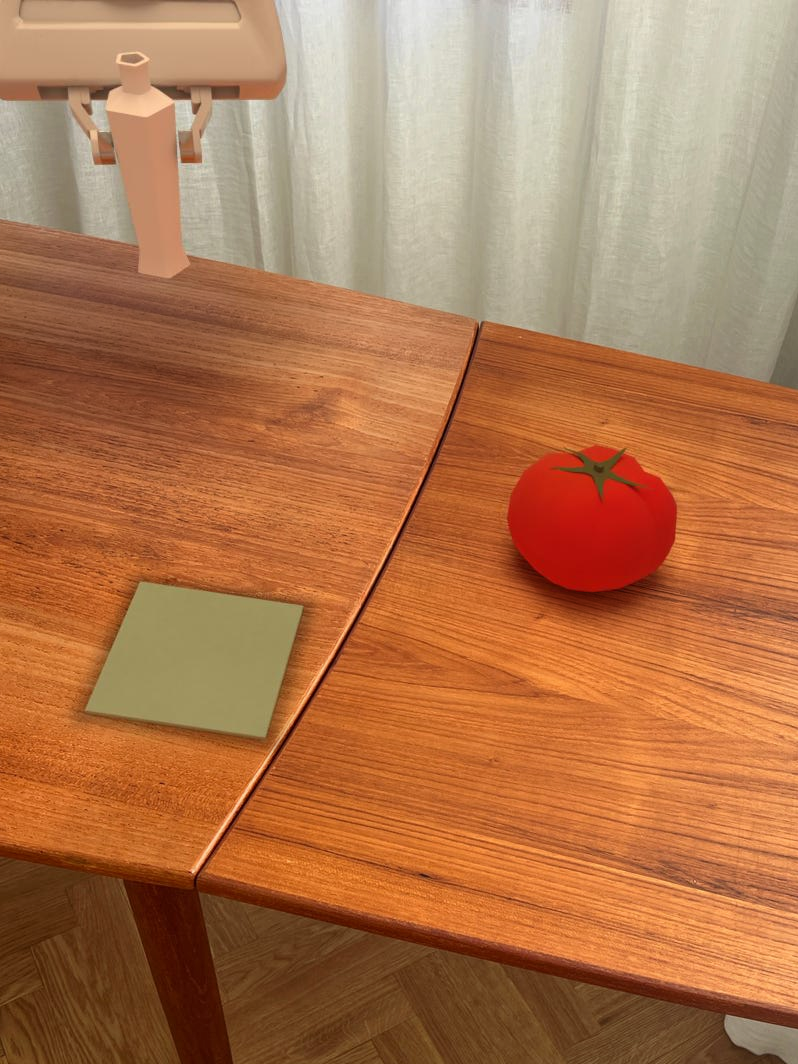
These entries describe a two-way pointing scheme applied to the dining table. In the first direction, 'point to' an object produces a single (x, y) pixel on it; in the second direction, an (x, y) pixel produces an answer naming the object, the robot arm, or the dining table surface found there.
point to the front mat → (198, 661)
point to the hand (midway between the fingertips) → (149, 161)
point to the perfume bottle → (148, 165)
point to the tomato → (592, 519)
